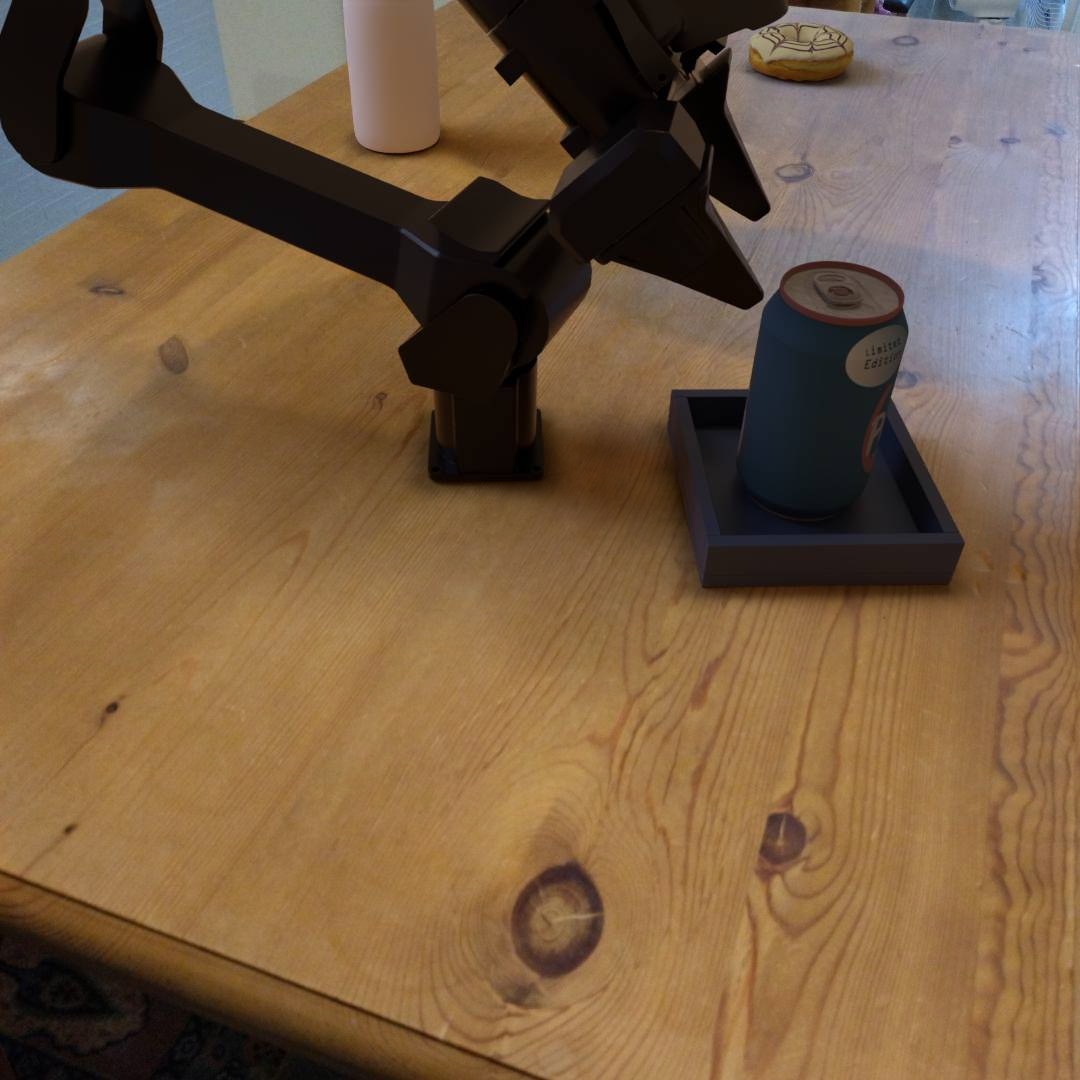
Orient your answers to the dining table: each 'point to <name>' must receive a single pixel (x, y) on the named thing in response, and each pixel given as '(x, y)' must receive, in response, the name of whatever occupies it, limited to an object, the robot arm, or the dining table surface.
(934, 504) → the tray
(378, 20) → the milk bottle
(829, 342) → the soda can
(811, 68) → the decorated donut
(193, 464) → the dining table surface
